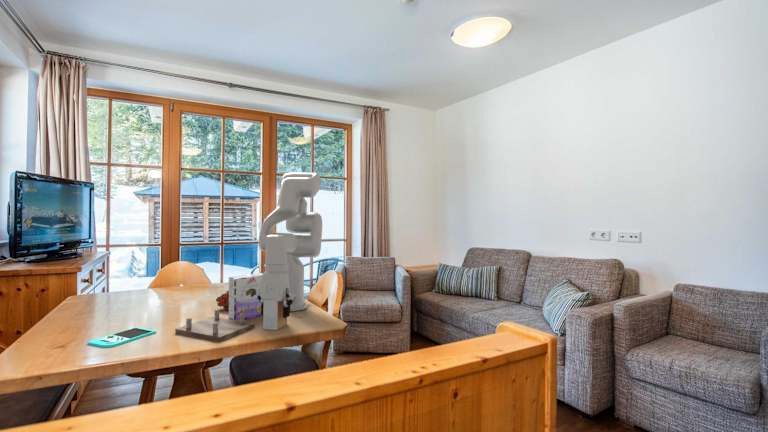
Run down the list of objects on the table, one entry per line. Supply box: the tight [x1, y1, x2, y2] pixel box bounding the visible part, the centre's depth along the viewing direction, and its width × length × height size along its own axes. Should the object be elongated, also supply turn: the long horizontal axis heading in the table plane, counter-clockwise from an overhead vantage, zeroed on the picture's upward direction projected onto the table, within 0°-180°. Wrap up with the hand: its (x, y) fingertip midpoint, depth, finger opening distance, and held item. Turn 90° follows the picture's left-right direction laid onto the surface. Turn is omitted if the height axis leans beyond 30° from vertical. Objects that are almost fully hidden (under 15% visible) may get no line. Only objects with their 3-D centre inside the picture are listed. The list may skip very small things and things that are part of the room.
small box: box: [262, 300, 288, 331], centre depth 135 cm, size 8×6×10 cm
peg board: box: [174, 308, 256, 343], centre depth 130 cm, size 16×20×5 cm
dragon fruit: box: [215, 290, 229, 311], centre depth 157 cm, size 8×8×12 cm
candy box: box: [228, 272, 263, 321], centre depth 147 cm, size 14×6×16 cm, turn 135°
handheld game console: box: [87, 326, 157, 348], centre depth 121 cm, size 10×16×1 cm, turn 159°
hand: (275, 315), depth 134 cm, fingers open, 9 cm apart
